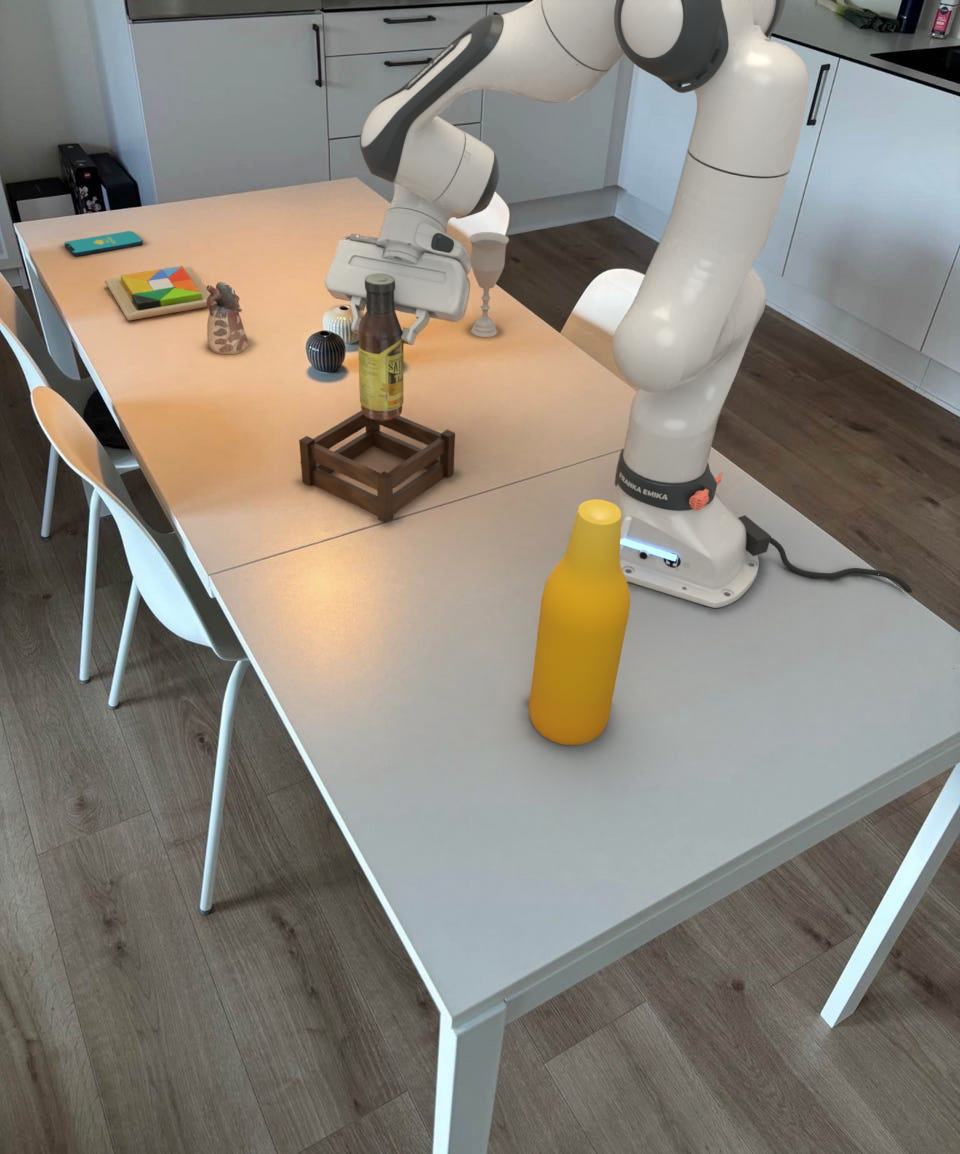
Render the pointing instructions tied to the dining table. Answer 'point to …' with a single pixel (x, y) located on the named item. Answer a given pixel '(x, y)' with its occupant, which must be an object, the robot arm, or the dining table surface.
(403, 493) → the crate
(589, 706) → the beer bottle
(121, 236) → the smartphone
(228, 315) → the figurine
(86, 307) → the dining table surface
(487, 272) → the chalice
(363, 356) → the sauce bottle
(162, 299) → the wooden puzzle
